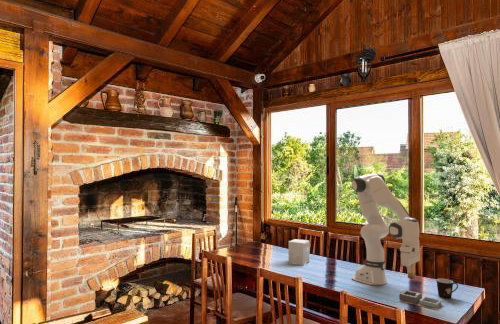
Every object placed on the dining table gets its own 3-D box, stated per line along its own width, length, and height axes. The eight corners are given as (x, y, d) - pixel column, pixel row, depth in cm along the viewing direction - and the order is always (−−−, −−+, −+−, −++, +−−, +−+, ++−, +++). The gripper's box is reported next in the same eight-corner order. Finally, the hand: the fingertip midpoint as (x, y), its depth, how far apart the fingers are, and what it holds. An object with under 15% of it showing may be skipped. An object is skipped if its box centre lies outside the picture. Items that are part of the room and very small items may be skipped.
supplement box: (309, 262, 290) (309, 240, 290) (303, 265, 278) (303, 243, 279) (294, 259, 296) (294, 238, 297) (288, 263, 285) (288, 241, 286)
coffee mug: (437, 299, 204) (437, 282, 205) (435, 294, 213) (435, 278, 213) (460, 302, 200) (460, 284, 201) (457, 297, 208) (457, 280, 209)
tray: (419, 304, 194) (419, 300, 194) (424, 300, 200) (424, 296, 200) (436, 309, 188) (436, 304, 188) (441, 304, 194) (441, 300, 195)
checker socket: (399, 300, 201) (399, 292, 201) (405, 296, 208) (405, 288, 208) (416, 304, 195) (416, 296, 195) (421, 300, 202) (421, 292, 202)
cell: (406, 277, 201) (406, 262, 201) (409, 276, 204) (408, 261, 204) (413, 279, 198) (413, 263, 199) (416, 277, 201) (416, 262, 202)
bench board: (397, 301, 201) (397, 300, 201) (404, 296, 209) (404, 295, 209) (436, 311, 187) (436, 309, 187) (442, 305, 195) (442, 304, 195)
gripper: (411, 243, 212) (411, 266, 211) (398, 248, 197) (398, 273, 196) (422, 244, 207) (423, 268, 207) (410, 250, 192) (410, 276, 192)
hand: (411, 271), depth 202 cm, fingers closed on cell, 4 cm apart
